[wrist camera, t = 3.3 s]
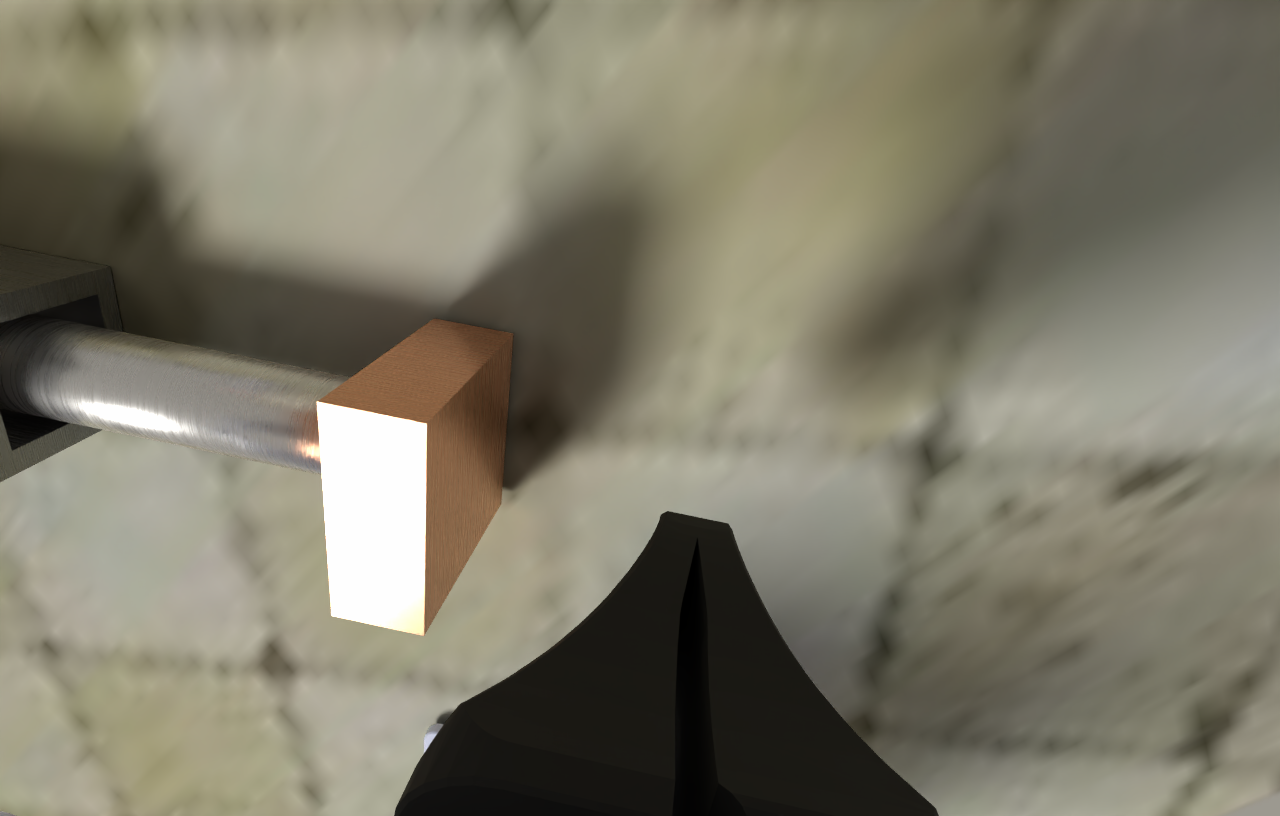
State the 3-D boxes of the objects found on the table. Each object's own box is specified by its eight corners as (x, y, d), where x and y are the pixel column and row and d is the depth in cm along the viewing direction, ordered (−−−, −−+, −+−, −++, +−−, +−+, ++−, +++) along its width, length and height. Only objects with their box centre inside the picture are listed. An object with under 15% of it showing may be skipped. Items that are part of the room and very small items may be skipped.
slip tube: (513, 333, 16) (426, 423, 11) (501, 503, 18) (423, 635, 14) (-95, 216, 17) (-400, 257, 12) (-37, 392, 19) (-278, 482, 14)
